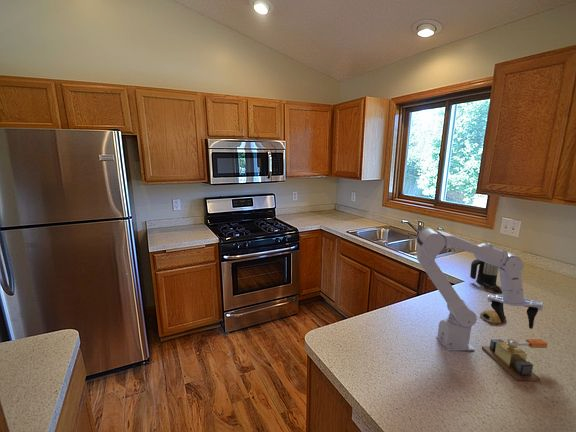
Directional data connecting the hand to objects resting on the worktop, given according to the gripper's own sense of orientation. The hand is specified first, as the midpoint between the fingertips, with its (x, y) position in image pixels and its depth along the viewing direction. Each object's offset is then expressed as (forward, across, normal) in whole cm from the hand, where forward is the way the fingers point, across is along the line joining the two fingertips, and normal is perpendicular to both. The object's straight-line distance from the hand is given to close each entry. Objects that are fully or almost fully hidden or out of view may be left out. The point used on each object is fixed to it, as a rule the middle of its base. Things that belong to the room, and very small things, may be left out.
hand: (516, 324), depth 95 cm
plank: (+9, +1, +10) cm, 13 cm away
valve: (+9, +1, +10) cm, 13 cm away
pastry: (+11, +13, -18) cm, 24 cm away
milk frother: (+15, +24, -56) cm, 63 cm away
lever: (+4, -3, +6) cm, 7 cm away
